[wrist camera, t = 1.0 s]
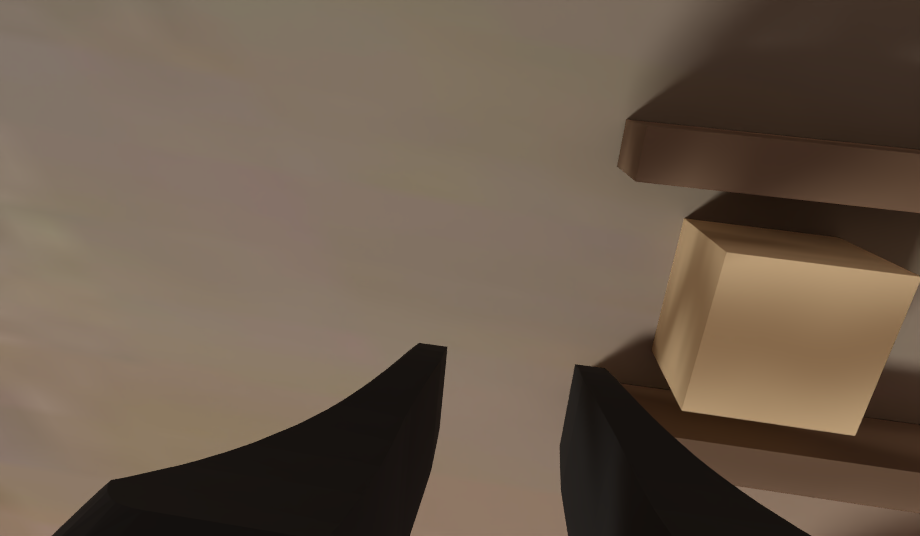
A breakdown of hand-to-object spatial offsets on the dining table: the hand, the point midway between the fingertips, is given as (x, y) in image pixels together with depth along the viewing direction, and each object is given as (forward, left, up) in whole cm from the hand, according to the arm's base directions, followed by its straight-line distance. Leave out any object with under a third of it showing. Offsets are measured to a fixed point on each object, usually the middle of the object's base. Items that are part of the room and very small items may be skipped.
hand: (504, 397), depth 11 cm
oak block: (0, -8, -9) cm, 12 cm away
